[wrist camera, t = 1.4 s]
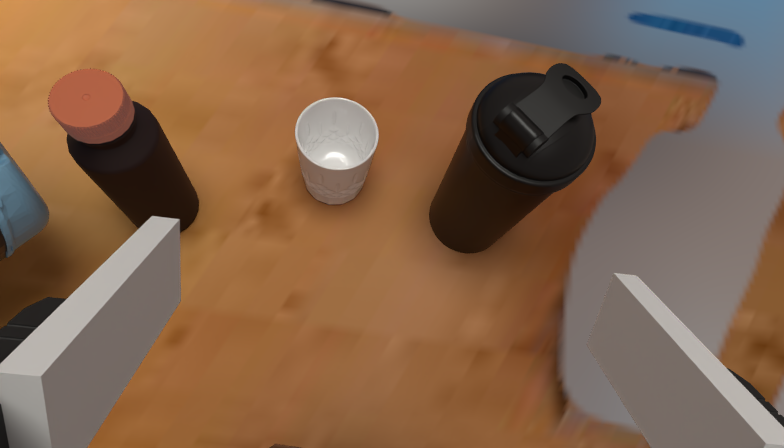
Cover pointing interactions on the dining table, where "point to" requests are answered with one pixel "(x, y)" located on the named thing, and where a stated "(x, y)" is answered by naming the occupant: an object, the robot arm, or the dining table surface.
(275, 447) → the backstop wall
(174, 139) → the dining table surface
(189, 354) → the dining table surface
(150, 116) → the vinegar
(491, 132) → the water bottle
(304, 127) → the white cup
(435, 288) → the dining table surface
